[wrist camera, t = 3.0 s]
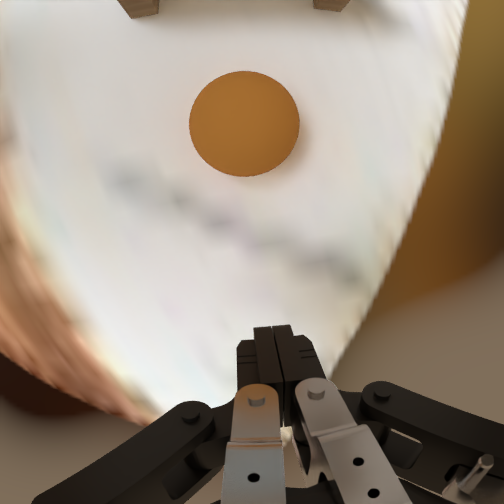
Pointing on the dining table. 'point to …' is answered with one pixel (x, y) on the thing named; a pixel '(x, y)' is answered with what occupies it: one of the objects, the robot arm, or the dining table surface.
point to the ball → (244, 123)
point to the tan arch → (146, 3)
